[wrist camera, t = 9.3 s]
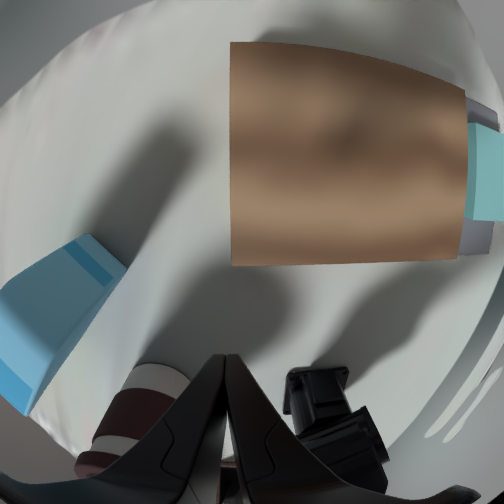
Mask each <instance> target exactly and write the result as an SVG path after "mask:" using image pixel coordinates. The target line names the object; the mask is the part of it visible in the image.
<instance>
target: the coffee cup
mask: <svg viewBox="0 0 504 504" xmlns="http://www.w3.org/2000/svg"><path fill="white" fill-rule="evenodd" d="M189 383H190V381H189V380H188V379H187V378H186V377H185V376H184V375H183V374H182V373H180V372H179V371H177V370H175V369H173V368H171V367H168V366H165V365H160V364H152V363H150V364H143V365H140V366H138V367H136V368H134V369H133V370H132V371H131V372H130V374H129V376H128V378H127V379H126V381H125V383H124V385H123V387H122V389H121V390H120V392H119V393H117V394H116V395H115V397H114V398H113V400H112V402H111V404H110V406H109V408H108V410H107V411H106V413H105V415H104V417H103V419H102V421H101V423H100V425H99V427H98V428H97V430H96V432H95V434H94V436H93V439H92V447H91V449H90V451H85V452H82V453H81V454H80V455H79V456H78V458H77V461H76V464H75V466H74V471H75V473H76V475H77V476H78V477H79V479H82V478H87V477H91V476H94V475H96V474H98V473H100V472H102V471H104V470H105V469H106V468H108V467H109V466H110V465H111V464H113V463H114V462H115V461H116V460H117V459H119V458H120V457H121V456H122V455H123V454H125V453H126V452H127V451H128V450H129V449H130V448H132V447H133V446H134V445H135V444H136V443H137V442H138V441H139V440H140V439H141V438H143V437H144V436H145V435H146V434H147V432H148V431H149V430H150V429H151V428H152V427H153V426H154V425H155V424H156V423H157V421H158V420H159V419H160V418H162V416H163V414H164V413H165V412H166V411H167V410H168V409H169V407H170V406H171V405H172V404H173V403H174V401H175V400H176V399H177V398H178V397H179V395H180V394H181V393H182V392H183V390H184V389H185V388H186V387H187V386H188V384H189Z"/></svg>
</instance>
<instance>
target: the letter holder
mask: <svg viewBox="0 0 504 504" xmlns="http://www.w3.org/2000/svg"><path fill="white" fill-rule="evenodd" d="M215 504H244V503H243V498H242V493H241V488H240V483H239V478H238V473H237V468H236V463H232V462H221V466H220V473H219V480H218V488H217V495H216V502H215Z"/></svg>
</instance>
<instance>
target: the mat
mask: <svg viewBox="0 0 504 504" xmlns="http://www.w3.org/2000/svg"><path fill="white" fill-rule="evenodd" d="M465 99H466V109H467V123H478V124H480V125H483V126H485V127H488V128H490V129H492V130H495V131H497V132H498V118H497V113H495V112H494V111H492V110H490V109H488V108H486V107H484V106H482V105H480V104H478V103H476V102H474V101H472V100H470V99H468V98H466V97H465ZM493 226H494V221H483V220H472V219H469V218H466V217H464V220H463V227H462V233H461V240H460V245H459V251H458V255H471V254H489V249H490V244H491V238H492V232H493Z"/></svg>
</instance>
